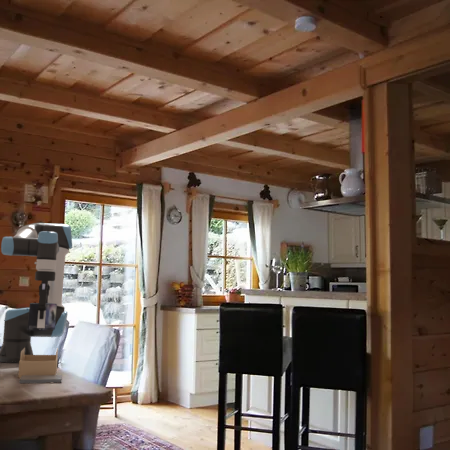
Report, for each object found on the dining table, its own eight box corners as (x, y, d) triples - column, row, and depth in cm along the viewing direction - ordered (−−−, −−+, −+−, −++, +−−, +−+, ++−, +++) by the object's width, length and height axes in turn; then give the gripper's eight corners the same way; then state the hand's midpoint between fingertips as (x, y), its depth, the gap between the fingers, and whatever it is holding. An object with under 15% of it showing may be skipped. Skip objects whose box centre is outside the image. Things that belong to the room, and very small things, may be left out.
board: (21, 378, 199) (22, 375, 200) (61, 378, 203) (62, 374, 203) (19, 383, 190) (19, 379, 190) (61, 382, 193) (61, 379, 194)
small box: (42, 331, 208) (44, 303, 209) (26, 330, 209) (28, 303, 210) (56, 329, 218) (57, 303, 219) (41, 328, 219) (42, 302, 220)
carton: (22, 370, 219) (24, 347, 220) (56, 370, 222) (58, 347, 223) (18, 377, 201) (20, 352, 202) (55, 377, 204) (56, 352, 205)
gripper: (37, 271, 226) (33, 324, 224) (33, 269, 203) (29, 329, 201) (56, 271, 228) (53, 324, 226) (54, 270, 205) (50, 329, 203)
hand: (41, 326), depth 214 cm, fingers closed on small box, 12 cm apart
